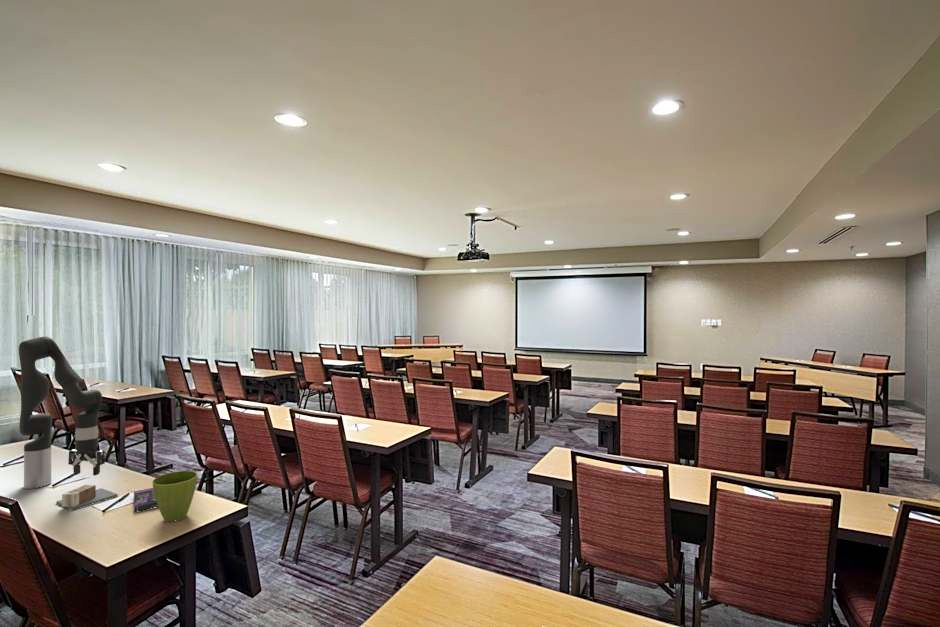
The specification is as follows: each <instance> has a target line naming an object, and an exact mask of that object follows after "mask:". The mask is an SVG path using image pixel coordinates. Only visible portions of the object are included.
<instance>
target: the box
mask: <svg viewBox="0 0 940 627" xmlns="http://www.w3.org/2000/svg"><path fill="white" fill-rule="evenodd" d="M133 502H134V503H133V505H134V507H133V508H134V509H133V510H134V513H135V512H136V513H138V512H137V511H141V512H144V511H143V510H145V511H148V510H147V509H150V508H154V507H158V505H157V502H156V498H155V494H154V489H153V487H149V488H146V489H141V490H135V491H133ZM150 510H151V509H150Z"/></svg>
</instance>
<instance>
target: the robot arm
mask: <svg viewBox="0 0 940 627" xmlns="http://www.w3.org/2000/svg"><path fill="white" fill-rule="evenodd" d="M18 356H19V363H20V364H19V365H20V416H19V417H20V418H19V433H20V435H21V436H24V437H26V436H37V435H40V437H38V438H36V439H34V440H33V439H32V440H31V441H29V442H26V443H25V444H24V446H23V489H25V490H33V489H38V488H39V487H40V488H43V486H44V487H46V485H47V486H49V485H51V484H50V483H52V429H53V417H52V414H51V413H49V412H48V413H37V414H33V412H34V411H35V409H36V408H38V406H40V405H41V404H42V403H43V402H44V401H45V400H46V398H48V396H49V394H50V380H49V378H48V377H47V376H46V374H43V373H42V372H41V371H39V370H38V368H36V361H39V360H43V359H45V358H46V359H47V358H51V359H52V360H53V362H54V379H55V381H56V383H57V384H58V385H59V386H60V387H61V388H62V389H63V391H65V393H66V397H67V399H68V401H69V403H70V405H71V406H72V407H73V408H75V409H84V410H83V411H81V412H80V413H78V414H77V415H76V417H75V432H74V448H75V449H74V448H73V449H71V450H69V451H68V460H67V462H68V465H72V467H73V468H72V470H73V474H74V476H77V475H80V474H81V464H82V462H88V463H90V464H92V476H98V475H99V474H100V473H101V466H102V465H104V464H105V463H106V456H105V450H104V449H102V450H101V449H100V450H98V449H97V448H98V446H99V427H98V415H99V412H100V409H101V406H102V403H103V395H102V393H101V391H100V390H98V389H96V388H95V389H94V388H93V389H87V390H83V389H84V388H85V386H86V383H85V381H84V379H82V377H81V376H80V375H79V374H78V373H77V372H76V371H75V370H74V368H72V366H71V364H70V363H69V361H68V359H67V358H66V356H65V355H64V353H63V352H62V350H61V349H60V347H59V346H58V344H57V343H56V342H55V340H54V339H53V338H51V337H50V336H45V335H44V336H40V337H35V338H31V339H26V340H24V341H21V342H20V343H19V345H18ZM48 484H49V485H48Z"/></svg>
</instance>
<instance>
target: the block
mask: <svg viewBox="0 0 940 627" xmlns="http://www.w3.org/2000/svg"><path fill="white" fill-rule="evenodd" d="M96 487H97V486H96V484H95V485H94V484H93V485H91V484H84V485H81V486H80V487H77V488H74V489H71V490H69V491H67V492H65V493H62V494H61V500H62V506H61V507H63V506H64V507H63V508H65V507H74V506H76V505H79V504H81V503H83V502H85V501H88V500H90V499H92V498H94V497H96V490H97V489H96Z"/></svg>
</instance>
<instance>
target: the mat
mask: <svg viewBox="0 0 940 627" xmlns="http://www.w3.org/2000/svg"><path fill="white" fill-rule="evenodd" d="M115 496H117V497H118V493H116V492H113V491H110V490H108V489H104V488H102V487H101V488H97V489H96V497H94V498H92V499H90V500H88V501H85V502H83V503H81V504H79V505H76V506H74V507H66V508H65V507H64V506H62V499H60V500H56V501H55V503H56V505H58V504H59V506H60V505H61V506H60V507H63V508H65V509H67V508H68V510H70V509H71V510H70V511H74V509H76V510H78V509H77V508H79V509H81V508H80V507H82V508H84V507H83V506H85V507H87V506H86V505H88V506H90V505H89V504H92V503H95V502H98V501H101V502H103V501H102V500H104V501H106V500H105V499H108V498H111V499H113V498H112V497H114V498H116V497H115ZM108 500H109V499H108ZM98 503H99V502H98ZM95 504H96V503H95ZM92 505H93V504H92Z"/></svg>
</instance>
